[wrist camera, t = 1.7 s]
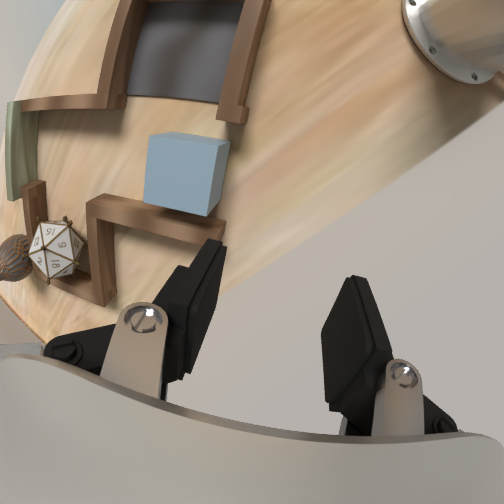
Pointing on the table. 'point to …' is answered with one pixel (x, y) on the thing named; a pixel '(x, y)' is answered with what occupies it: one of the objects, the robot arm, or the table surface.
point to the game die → (55, 248)
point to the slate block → (185, 171)
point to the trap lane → (115, 95)
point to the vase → (15, 259)
